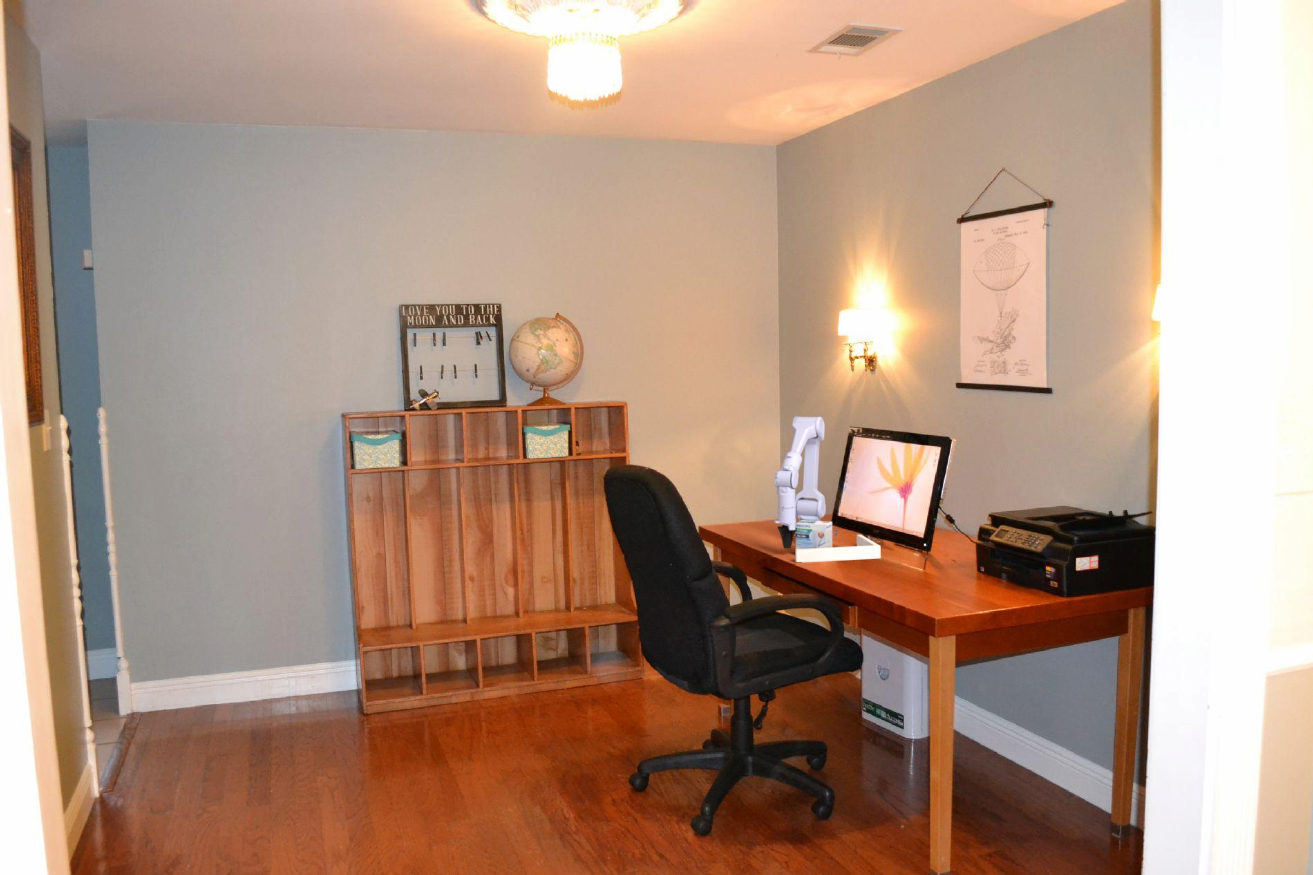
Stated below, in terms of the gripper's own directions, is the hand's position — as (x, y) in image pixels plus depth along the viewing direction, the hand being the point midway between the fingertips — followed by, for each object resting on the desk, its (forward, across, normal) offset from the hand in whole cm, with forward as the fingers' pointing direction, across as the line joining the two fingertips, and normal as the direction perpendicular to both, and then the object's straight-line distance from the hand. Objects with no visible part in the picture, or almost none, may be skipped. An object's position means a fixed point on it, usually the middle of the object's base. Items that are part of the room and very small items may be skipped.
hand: (787, 548), depth 331 cm
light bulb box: (+3, +1, +9) cm, 9 cm away
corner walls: (+2, +2, +14) cm, 14 cm away
